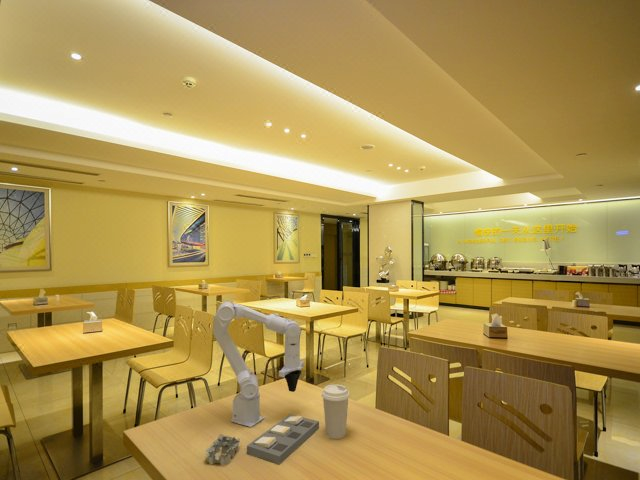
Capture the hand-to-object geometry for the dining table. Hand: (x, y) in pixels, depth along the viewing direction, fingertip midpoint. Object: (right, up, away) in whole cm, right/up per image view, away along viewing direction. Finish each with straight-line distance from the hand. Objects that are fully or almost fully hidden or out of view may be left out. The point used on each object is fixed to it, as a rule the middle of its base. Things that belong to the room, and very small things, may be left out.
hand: (292, 390), depth 131 cm
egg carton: (-19, -9, -25) cm, 33 cm away
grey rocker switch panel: (-1, -9, -17) cm, 19 cm away
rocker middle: (-3, -6, -16) cm, 17 cm away
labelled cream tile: (+1, -7, -9) cm, 11 cm away
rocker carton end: (-7, -6, -23) cm, 25 cm away
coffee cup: (+16, -9, -13) cm, 23 cm away
